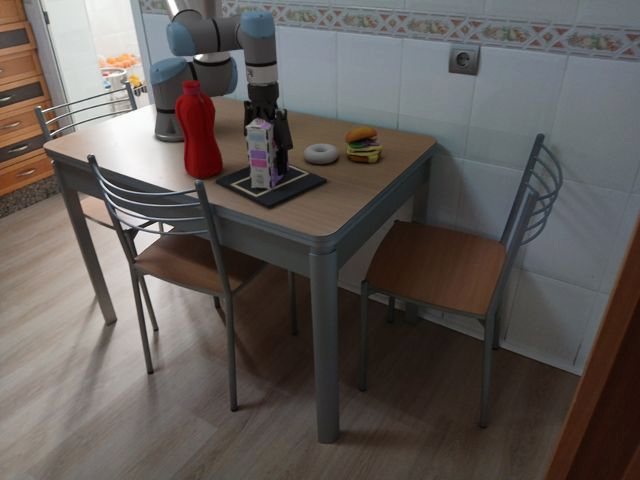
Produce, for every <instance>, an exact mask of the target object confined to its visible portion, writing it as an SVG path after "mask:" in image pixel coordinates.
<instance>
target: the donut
mask: <svg viewBox="0 0 640 480" xmlns="http://www.w3.org/2000/svg"><path fill="white" fill-rule="evenodd" d="M339 154H340V153H339V150H338V148H337V147H336V146H335V145H332V144H329V143H314V144H311V145H309V146H307V147H306V148H305V150H304V152H303V156H304V158H305V160H306V161H307V162H308V163H311V164H315V165H327V164H330V163H333V162H334V161H336V160H337V159H338V157H339Z"/></svg>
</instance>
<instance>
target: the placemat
mask: <svg viewBox="0 0 640 480" xmlns="http://www.w3.org/2000/svg"><path fill="white" fill-rule="evenodd" d="M287 172H288V173H286V174H284V176H283V177H282V178H281V179H280V181H279V182H278V183H277V184H276V185H275V187H274V188H273V189H272V190H265V189H257V188H251V181H250V171H249V166H247V167H243V168H241V169H239V170H236V171H233V172H230V173H228V174H225V175H223V176H221V177H218V178H215V184H217V185H220V186H222V187H223V188H226V189H228V190H230V191H232V192H234V193H236V194H238V195H240V196H242V197H245V198H246V199H249V200H250V201H252V202H253V203H257V204H258V205H260V206H263V207H265V208H267V209H269V210H270V209H272V208H274V207H276V206H279V205H281V204H283V203H285V202H287V201H290V200H291V199H294V198H296V197H298V196H300V195H302V194H305V193H306V192H309V191H311V190H313V189H315V188H318V187H320V186H322V185H324V184H326V183H328V179H327V178H325V177H324V176H321V175H318V174H316V173H313V172H311V171H308V170H305V169H303V168H300V167H298V166H295V165H293V164H290V163H289V170H288V171H287Z"/></svg>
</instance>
